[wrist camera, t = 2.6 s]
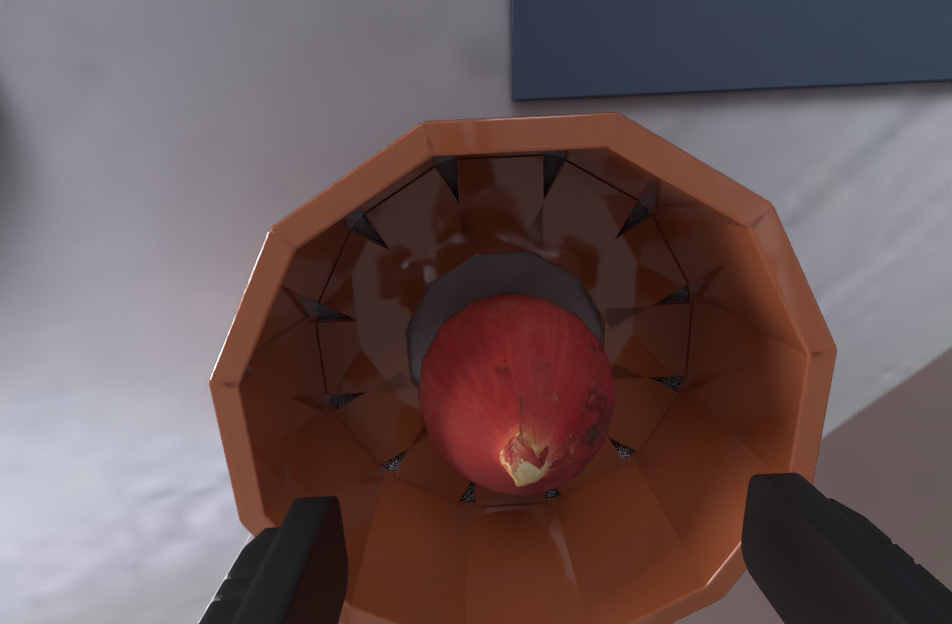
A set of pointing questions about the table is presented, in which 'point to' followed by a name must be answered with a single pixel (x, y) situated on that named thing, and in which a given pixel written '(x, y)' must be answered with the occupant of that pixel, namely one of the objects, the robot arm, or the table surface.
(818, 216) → the table surface
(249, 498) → the pot
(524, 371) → the pomegranate
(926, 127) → the table surface
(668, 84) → the placemat
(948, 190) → the table surface
